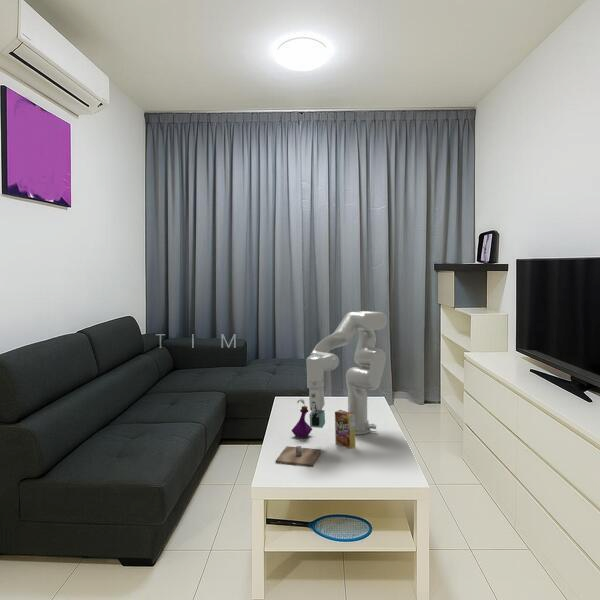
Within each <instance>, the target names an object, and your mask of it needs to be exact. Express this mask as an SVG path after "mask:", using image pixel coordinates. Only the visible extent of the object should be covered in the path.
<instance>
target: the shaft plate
mask: <svg viewBox="0 0 600 600" xmlns="http://www.w3.org/2000/svg"><path fill="white" fill-rule="evenodd" d="M321 453H322V449H321V448H312V447H311V448H308V447H302V446H301V445H296V446H290V445H289V446H288V445H287V446H285V447H284V449H283V450H282V452H281V453H280V454H279V456H278V457H277V458H276V459H275V460H274V462H275V464H280V463H281V464H282V465H291V466H300V467H301V466H302V467H311V468H312V467H314V466H315V464H316V463H317V460H318V458H319V457H320V455H321Z"/></svg>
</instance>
